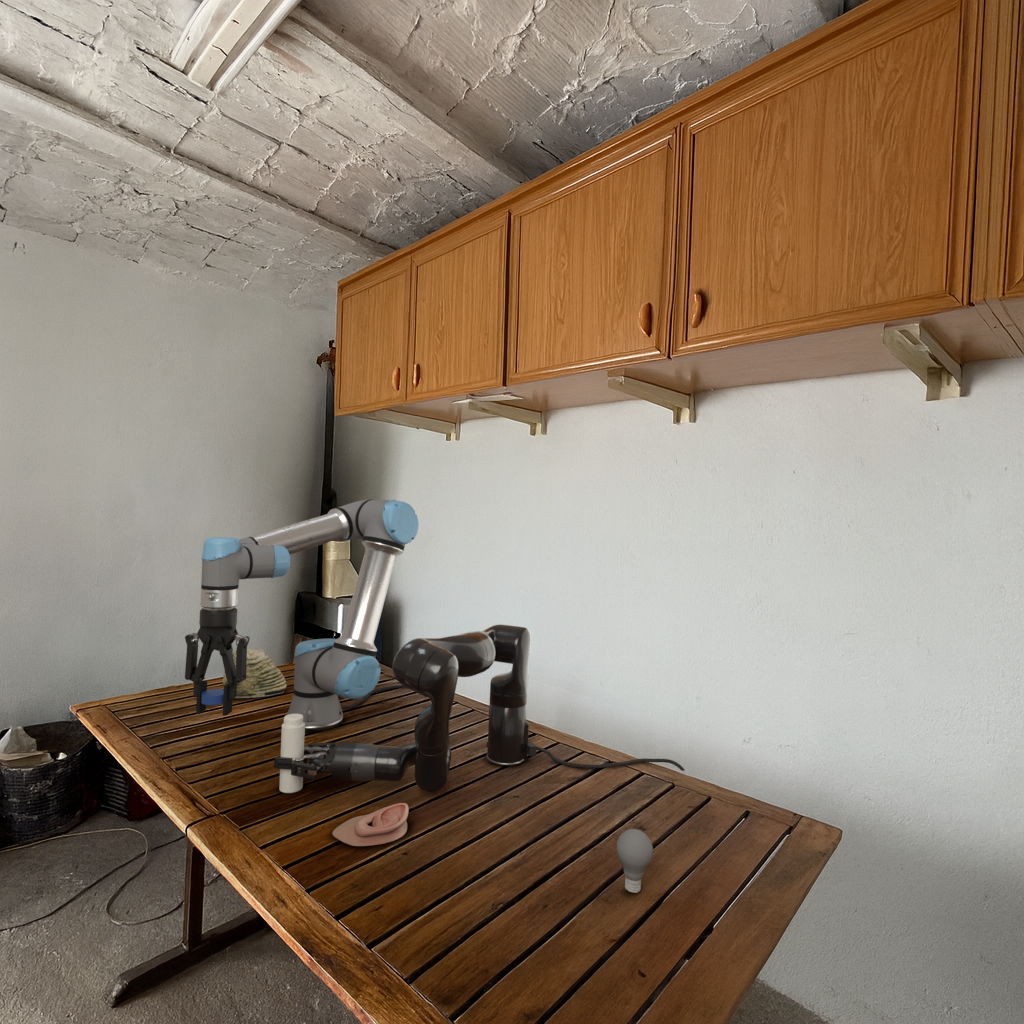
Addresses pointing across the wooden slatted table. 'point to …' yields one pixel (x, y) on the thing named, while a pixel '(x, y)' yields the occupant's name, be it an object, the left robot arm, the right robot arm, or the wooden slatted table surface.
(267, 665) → the fossil
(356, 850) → the wooden slatted table surface
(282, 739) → the white bottle
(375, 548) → the left robot arm
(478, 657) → the right robot arm
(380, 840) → the anatomical model
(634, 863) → the light bulb
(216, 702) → the lid
